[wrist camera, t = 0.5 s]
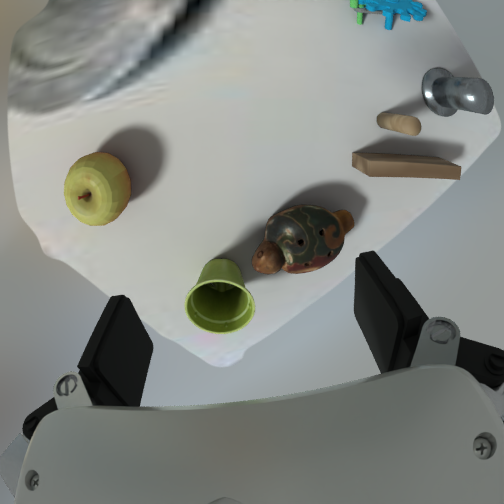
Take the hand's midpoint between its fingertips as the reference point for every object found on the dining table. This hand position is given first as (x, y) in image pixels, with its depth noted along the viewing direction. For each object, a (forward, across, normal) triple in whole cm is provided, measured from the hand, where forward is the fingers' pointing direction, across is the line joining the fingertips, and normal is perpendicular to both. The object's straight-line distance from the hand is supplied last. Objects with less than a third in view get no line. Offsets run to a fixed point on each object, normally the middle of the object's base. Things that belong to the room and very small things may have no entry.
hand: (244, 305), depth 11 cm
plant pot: (+30, +6, +17) cm, 35 cm away
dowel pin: (+30, -21, -3) cm, 37 cm away
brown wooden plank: (+30, -24, +3) cm, 38 cm away
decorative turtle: (+30, -7, +11) cm, 33 cm away
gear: (+30, -23, -21) cm, 44 cm away
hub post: (+30, -33, -8) cm, 45 cm away
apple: (+30, +19, -2) cm, 35 cm away
